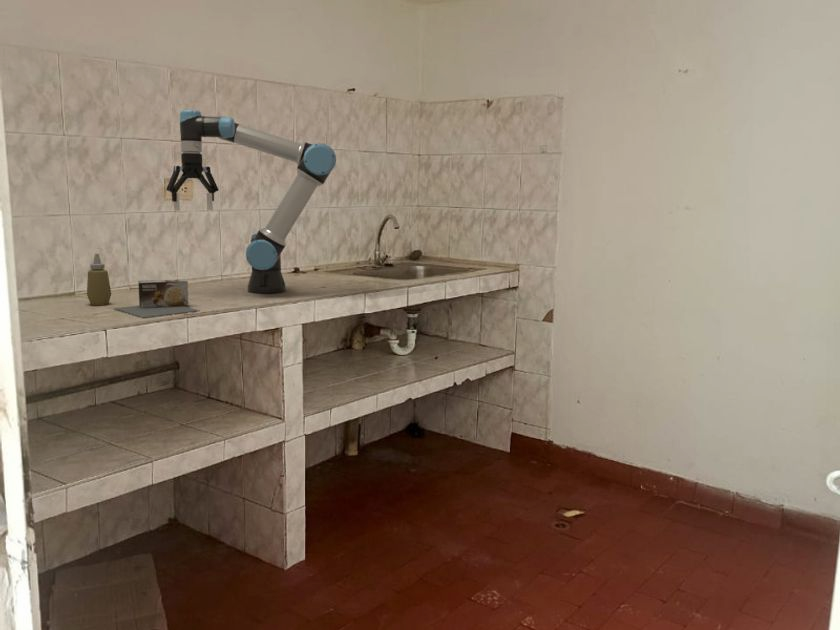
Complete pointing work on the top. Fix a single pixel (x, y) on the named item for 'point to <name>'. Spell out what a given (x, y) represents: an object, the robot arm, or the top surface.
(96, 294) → the squeeze bottle
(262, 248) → the robot arm
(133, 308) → the mat
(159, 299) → the coffee box
